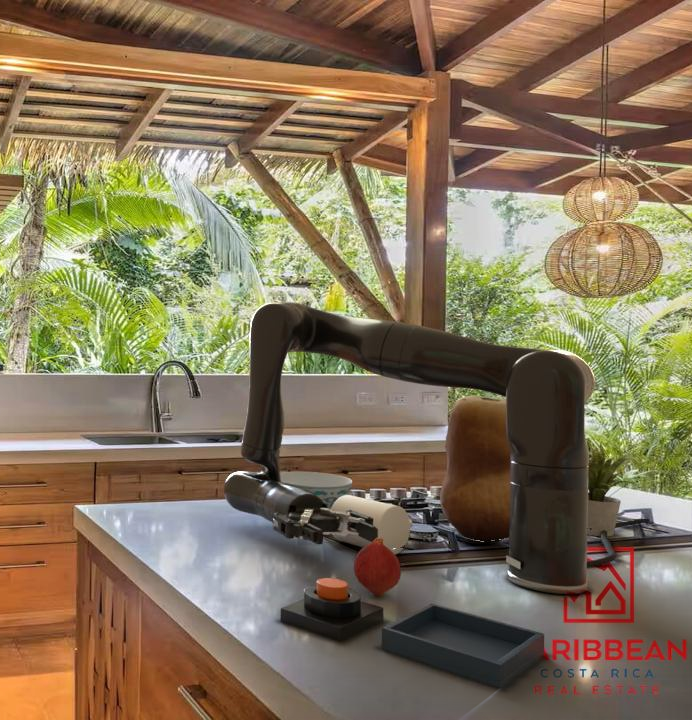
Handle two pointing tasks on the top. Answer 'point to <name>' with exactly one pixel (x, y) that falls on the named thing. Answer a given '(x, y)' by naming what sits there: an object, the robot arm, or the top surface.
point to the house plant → (603, 492)
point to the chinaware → (319, 484)
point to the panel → (332, 614)
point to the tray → (464, 643)
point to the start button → (332, 588)
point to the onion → (377, 567)
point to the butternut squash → (477, 470)
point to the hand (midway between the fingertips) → (348, 536)
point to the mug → (376, 521)
